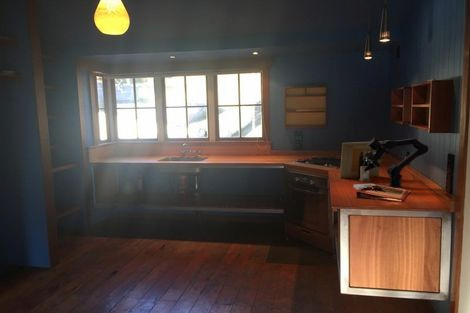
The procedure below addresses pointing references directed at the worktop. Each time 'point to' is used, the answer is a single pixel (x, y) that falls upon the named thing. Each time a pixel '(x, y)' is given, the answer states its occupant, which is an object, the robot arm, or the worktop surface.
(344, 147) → the picture frame
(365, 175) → the brown box on plinth
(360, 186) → the display block
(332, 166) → the worktop surface
